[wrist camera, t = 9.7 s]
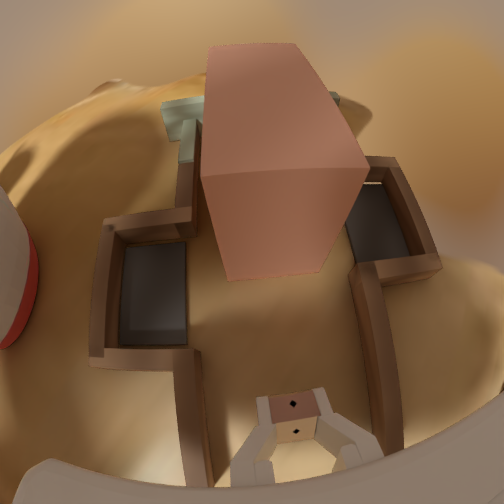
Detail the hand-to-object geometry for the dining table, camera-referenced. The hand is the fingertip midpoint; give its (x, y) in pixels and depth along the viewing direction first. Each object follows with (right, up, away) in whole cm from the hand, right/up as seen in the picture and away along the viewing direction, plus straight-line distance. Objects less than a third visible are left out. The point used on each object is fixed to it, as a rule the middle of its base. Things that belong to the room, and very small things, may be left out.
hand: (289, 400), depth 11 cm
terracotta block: (-1, +11, +10) cm, 15 cm away
